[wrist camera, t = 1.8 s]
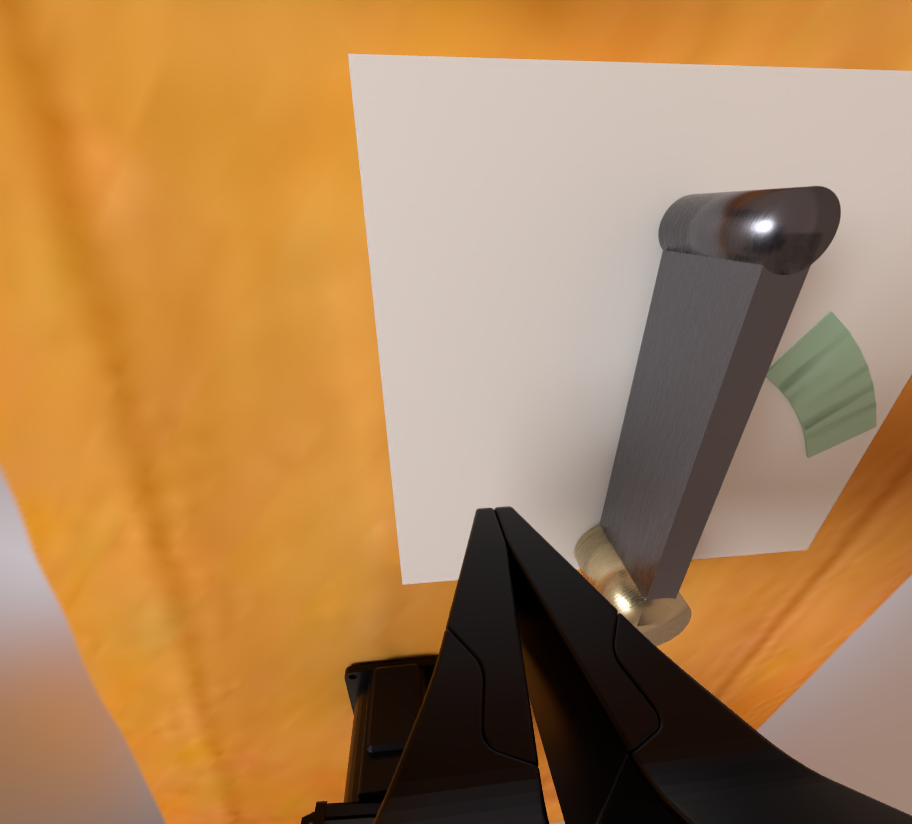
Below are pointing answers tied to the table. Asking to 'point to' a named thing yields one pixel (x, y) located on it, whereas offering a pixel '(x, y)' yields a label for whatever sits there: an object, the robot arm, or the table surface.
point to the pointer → (698, 385)
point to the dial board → (614, 281)
